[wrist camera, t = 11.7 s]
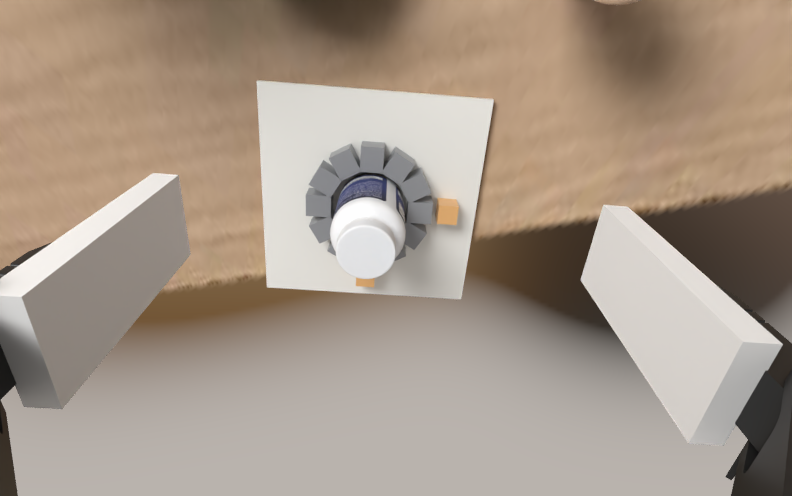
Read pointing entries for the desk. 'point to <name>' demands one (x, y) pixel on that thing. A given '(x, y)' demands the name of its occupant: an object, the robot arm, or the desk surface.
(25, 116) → the desk surface
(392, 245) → the pill bottle
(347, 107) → the socket
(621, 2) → the light bulb
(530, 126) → the desk surface
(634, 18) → the desk surface
